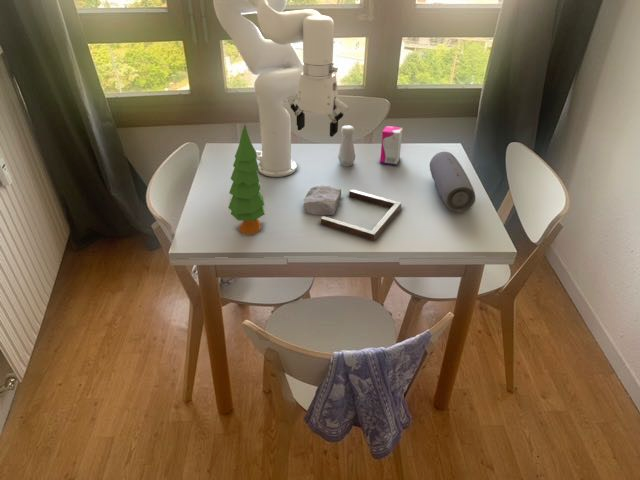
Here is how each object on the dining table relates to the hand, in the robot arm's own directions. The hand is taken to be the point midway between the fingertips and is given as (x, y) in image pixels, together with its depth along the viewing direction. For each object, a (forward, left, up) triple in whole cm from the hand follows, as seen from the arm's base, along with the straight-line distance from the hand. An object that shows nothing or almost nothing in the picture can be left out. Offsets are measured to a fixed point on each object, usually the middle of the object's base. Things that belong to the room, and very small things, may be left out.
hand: (316, 131), depth 136 cm
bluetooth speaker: (+34, +20, -21) cm, 45 cm away
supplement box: (+9, +34, -21) cm, 41 cm away
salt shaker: (-3, +25, -21) cm, 33 cm away
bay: (+16, -3, -21) cm, 27 cm away
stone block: (+3, -3, -21) cm, 21 cm away
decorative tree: (-8, -24, -21) cm, 33 cm away
